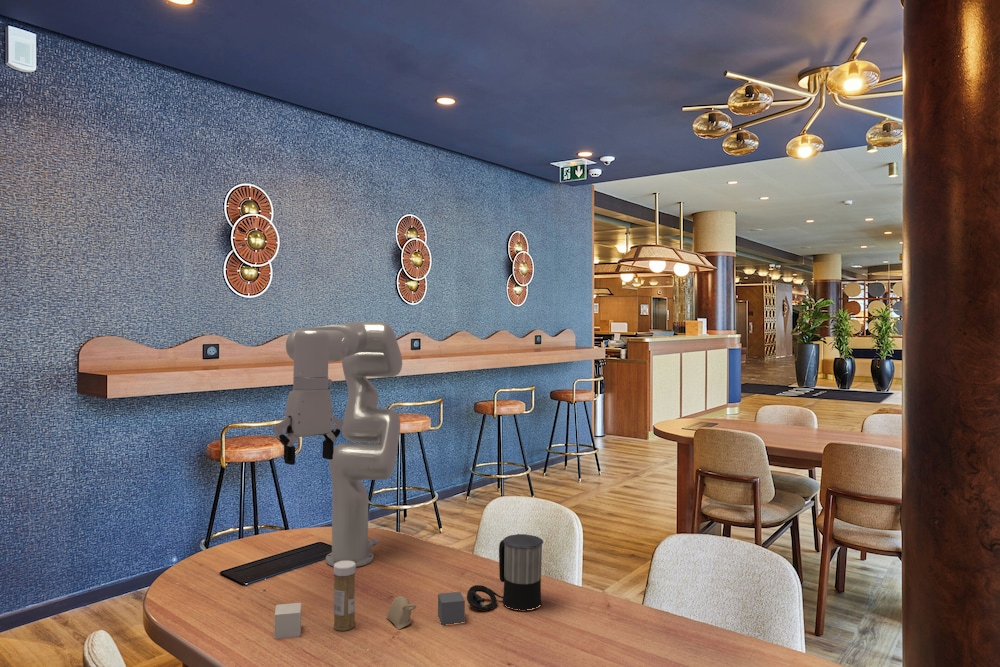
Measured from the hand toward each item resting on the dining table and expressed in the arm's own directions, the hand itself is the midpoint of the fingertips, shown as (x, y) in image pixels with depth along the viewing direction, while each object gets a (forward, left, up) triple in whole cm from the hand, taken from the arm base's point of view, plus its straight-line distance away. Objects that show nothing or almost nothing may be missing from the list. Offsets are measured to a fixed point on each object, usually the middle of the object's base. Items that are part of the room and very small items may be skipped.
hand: (309, 461), depth 150 cm
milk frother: (-25, +36, -33) cm, 56 cm away
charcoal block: (-13, +30, -33) cm, 47 cm away
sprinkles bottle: (+2, +13, -33) cm, 36 cm away
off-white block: (+10, +5, -33) cm, 35 cm away
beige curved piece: (-5, +22, -33) cm, 41 cm away
